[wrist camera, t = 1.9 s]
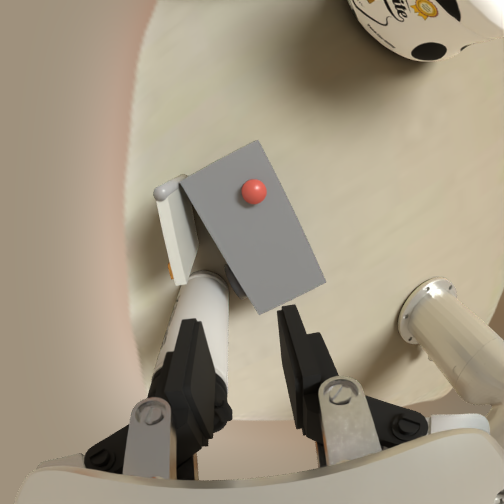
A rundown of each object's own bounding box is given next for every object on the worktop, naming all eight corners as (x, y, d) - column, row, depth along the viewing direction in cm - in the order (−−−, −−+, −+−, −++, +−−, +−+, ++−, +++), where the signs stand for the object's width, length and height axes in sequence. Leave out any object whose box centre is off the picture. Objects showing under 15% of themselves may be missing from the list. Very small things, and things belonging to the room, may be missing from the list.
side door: (200, 244, 34) (187, 284, 24) (187, 246, 34) (170, 286, 24) (187, 173, 30) (166, 184, 21) (173, 175, 30) (147, 188, 21)
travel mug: (237, 304, 37) (243, 434, 18) (191, 317, 37) (168, 443, 19) (222, 263, 35) (213, 386, 16) (173, 277, 35) (127, 398, 16)
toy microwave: (311, 259, 35) (328, 285, 29) (246, 291, 36) (250, 323, 30) (253, 141, 30) (258, 139, 23) (181, 180, 31) (167, 189, 24)
